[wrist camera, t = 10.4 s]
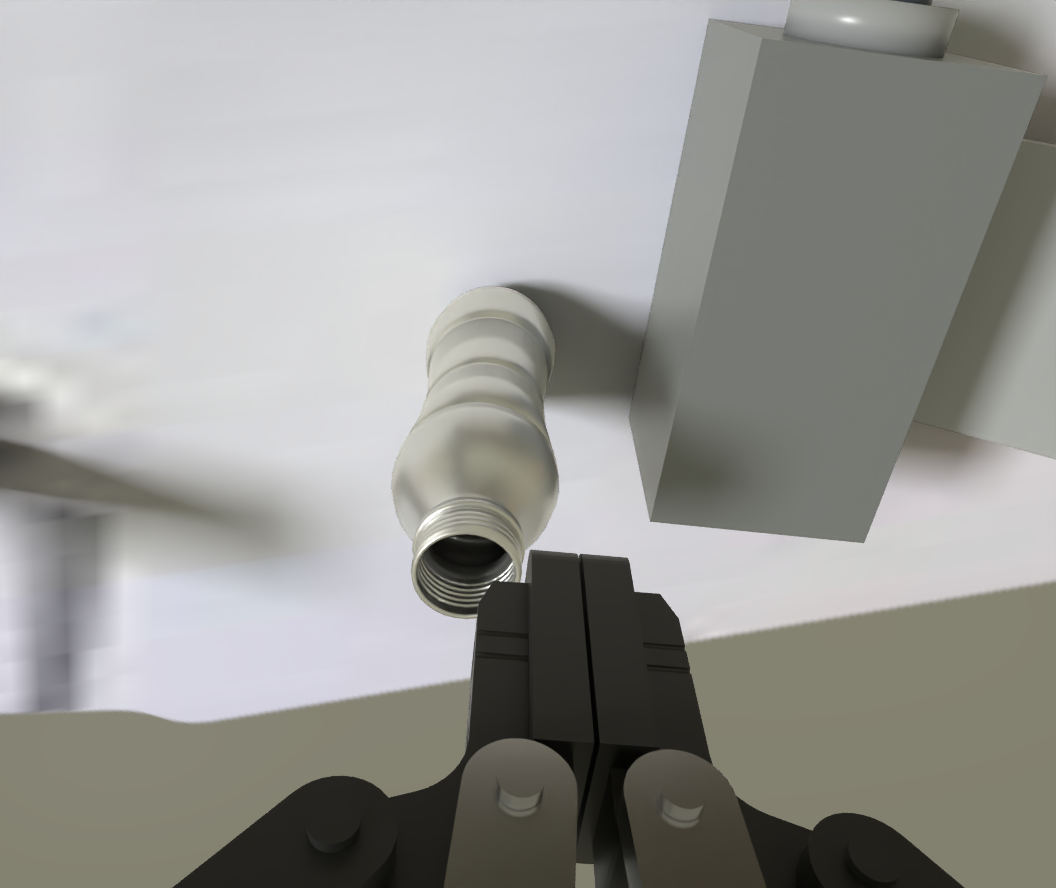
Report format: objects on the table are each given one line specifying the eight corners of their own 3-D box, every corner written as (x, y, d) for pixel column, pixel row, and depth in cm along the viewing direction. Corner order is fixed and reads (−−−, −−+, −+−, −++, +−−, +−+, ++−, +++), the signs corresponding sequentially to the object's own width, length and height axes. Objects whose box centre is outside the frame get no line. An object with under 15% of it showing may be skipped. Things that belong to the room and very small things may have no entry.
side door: (932, 125, 38) (1275, 185, 34) (932, 122, 39) (1266, 180, 35) (838, 401, 45) (1115, 476, 41) (841, 392, 46) (1111, 465, 42)
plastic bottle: (575, 304, 44) (603, 532, 26) (521, 409, 47) (514, 675, 30) (460, 253, 42) (410, 458, 25) (412, 364, 46) (338, 615, 28)
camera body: (719, -37, 36) (778, -33, 27) (946, -5, 37) (1074, 7, 28) (628, 417, 47) (650, 521, 38) (804, 436, 48) (864, 543, 39)
